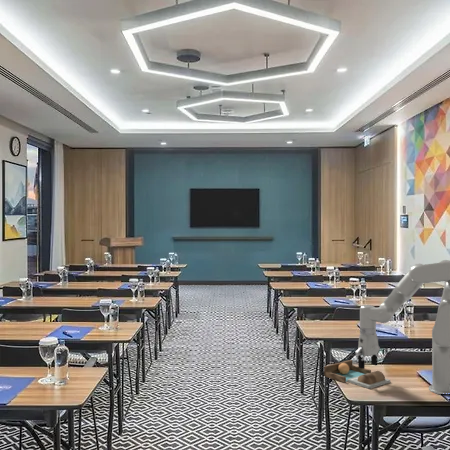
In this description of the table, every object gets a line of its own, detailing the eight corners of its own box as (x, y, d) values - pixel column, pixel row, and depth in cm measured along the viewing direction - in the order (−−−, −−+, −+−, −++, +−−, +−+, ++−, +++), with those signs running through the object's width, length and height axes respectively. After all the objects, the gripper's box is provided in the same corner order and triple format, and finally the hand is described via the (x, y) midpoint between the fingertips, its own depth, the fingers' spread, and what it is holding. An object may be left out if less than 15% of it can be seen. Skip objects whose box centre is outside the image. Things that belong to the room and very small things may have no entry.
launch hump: (385, 387, 244) (385, 372, 244) (369, 392, 237) (369, 377, 237) (373, 383, 250) (373, 369, 250) (357, 388, 242) (357, 373, 242)
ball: (350, 375, 257) (352, 365, 256) (343, 377, 254) (345, 367, 253) (342, 369, 261) (344, 360, 260) (334, 371, 258) (337, 362, 257)
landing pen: (371, 375, 256) (371, 365, 256) (344, 382, 244) (344, 372, 244) (350, 369, 266) (350, 359, 266) (324, 376, 254) (324, 366, 254)
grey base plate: (390, 382, 244) (390, 379, 244) (369, 388, 234) (369, 385, 234) (368, 375, 254) (368, 373, 254) (347, 381, 245) (347, 379, 245)
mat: (368, 375, 255) (368, 374, 255) (345, 381, 245) (345, 381, 245) (350, 370, 264) (350, 369, 264) (327, 376, 254) (327, 375, 254)
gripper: (362, 334, 237) (362, 371, 237) (385, 330, 247) (385, 365, 247) (350, 332, 243) (350, 367, 243) (372, 327, 253) (372, 361, 253)
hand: (367, 366), depth 245 cm, fingers open, 9 cm apart
